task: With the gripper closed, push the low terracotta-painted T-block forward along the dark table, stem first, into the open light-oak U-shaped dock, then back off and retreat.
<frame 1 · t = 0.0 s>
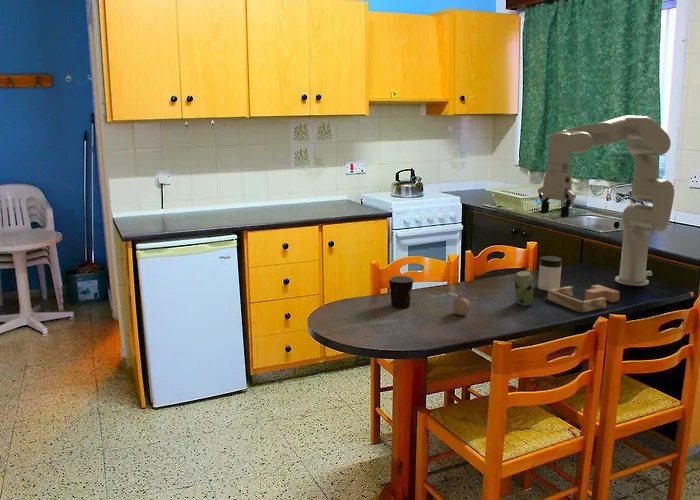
hand: (554, 214, 233), 31 cm above the table, tool pointing down, fingers open, 9 cm apart
garlic bulb: (460, 315, 221), on the table
jar: (548, 288, 252), on the table
dock: (576, 303, 233), on the table
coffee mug: (397, 307, 229), on the table
butter knife: (469, 302, 236), on the table
t block: (598, 299, 238), on the table
beverage can: (523, 304, 232), on the table
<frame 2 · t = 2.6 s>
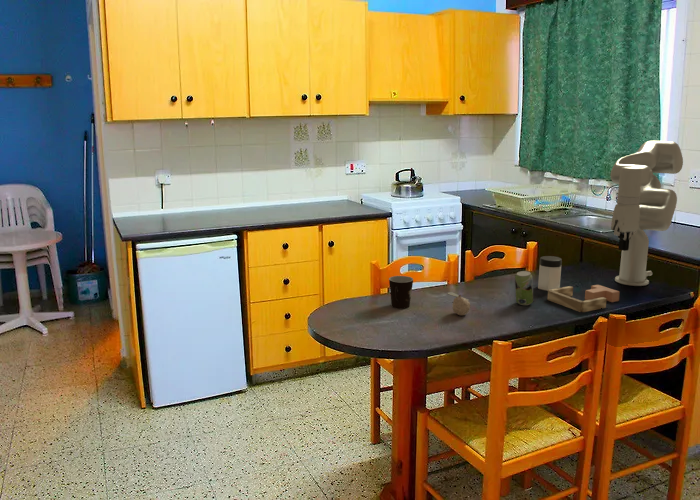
hand: (623, 249, 239), 18 cm above the table, tool pointing down, fingers closed
nothing on the table moved.
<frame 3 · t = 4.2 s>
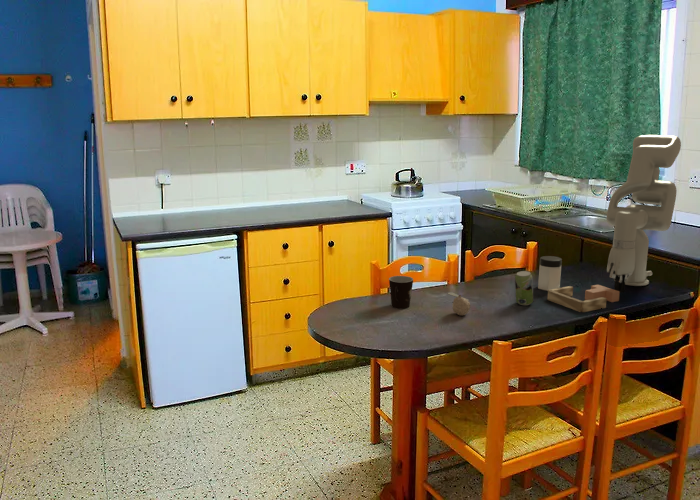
hand: (619, 291, 243), 1 cm above the table, tool pointing down, fingers closed
nothing on the table moved.
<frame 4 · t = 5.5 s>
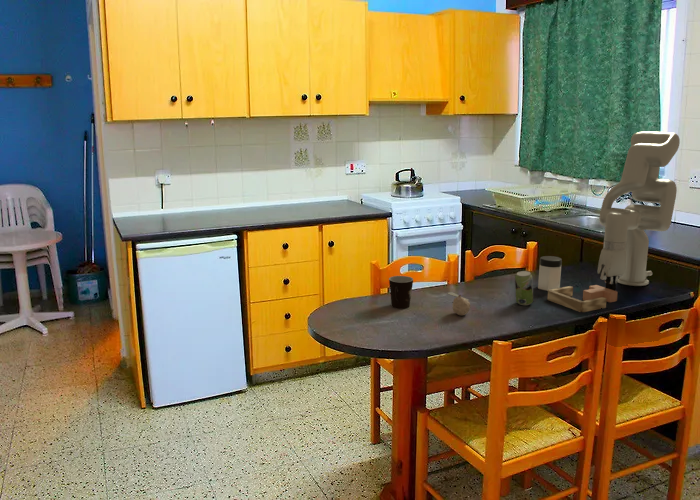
hand: (610, 293, 240), 1 cm above the table, tool pointing down, fingers closed
t block: (596, 299, 238), on the table, touching gripper
everything else where it was.
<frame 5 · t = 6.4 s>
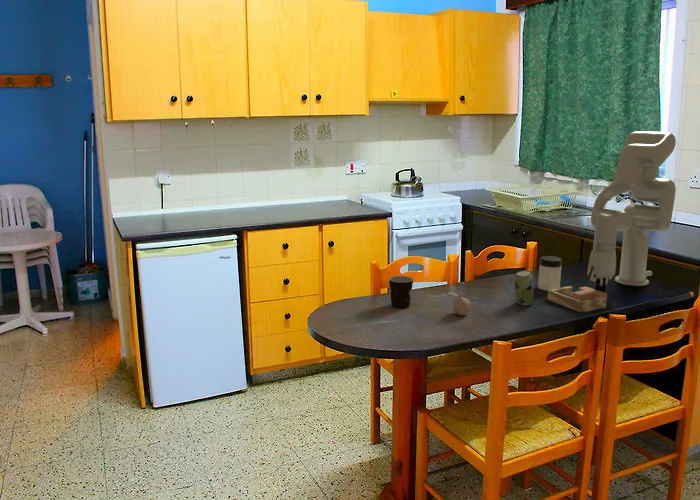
hand: (599, 295, 238), 1 cm above the table, tool pointing down, fingers closed
t block: (585, 301, 235), on the table, touching gripper
everything else where it was.
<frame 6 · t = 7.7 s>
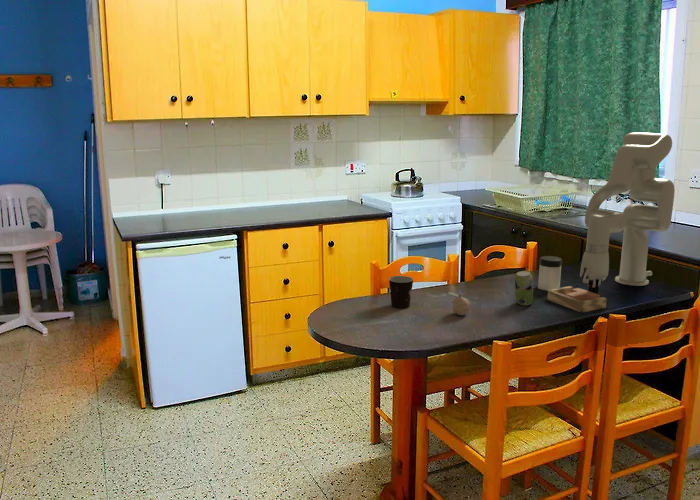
hand: (592, 296, 236), 1 cm above the table, tool pointing down, fingers closed
t block: (578, 302, 234), on the table, touching gripper
everything else where it was.
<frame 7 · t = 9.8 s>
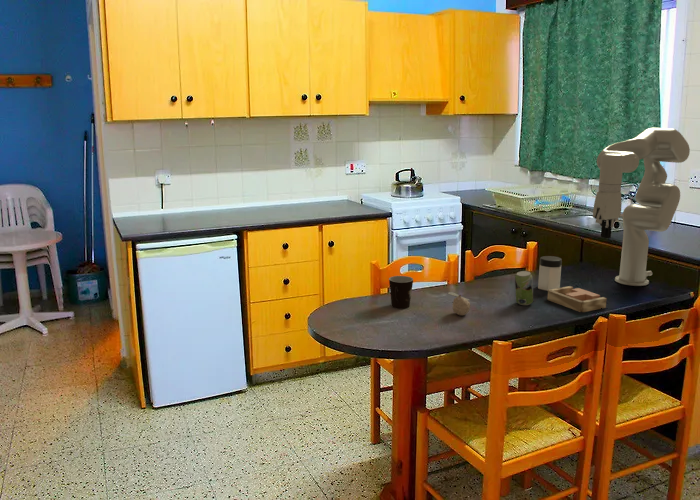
hand: (605, 237, 237), 22 cm above the table, tool pointing down, fingers closed
t block: (578, 302, 234), on the table
everything else where it was.
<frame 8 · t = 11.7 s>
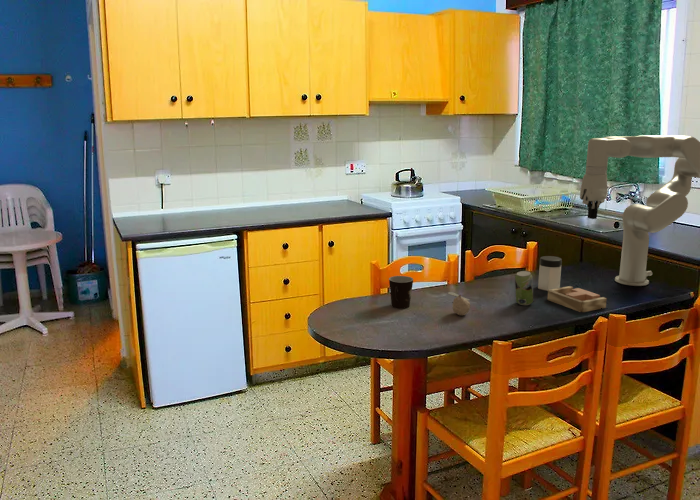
hand: (592, 218, 249), 27 cm above the table, tool pointing down, fingers closed
nothing on the table moved.
at the end: t block 0.3 cm off-centre on the dock, point 0.0 cm above the dock's base; t block moved 10.0 cm from its start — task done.
